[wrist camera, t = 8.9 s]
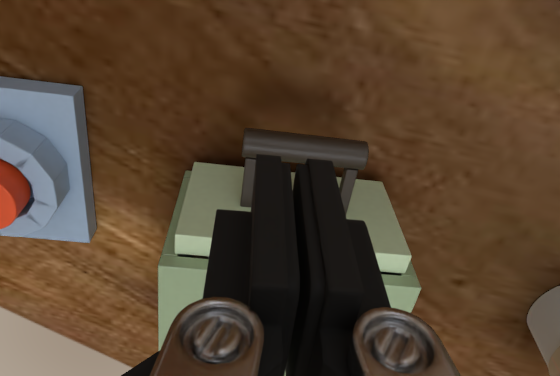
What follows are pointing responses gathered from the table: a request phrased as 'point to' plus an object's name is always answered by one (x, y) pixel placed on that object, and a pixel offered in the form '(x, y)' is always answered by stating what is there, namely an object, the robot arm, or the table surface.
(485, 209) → the table surface
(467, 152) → the table surface
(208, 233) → the shelf drawer
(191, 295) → the bedside cabinet
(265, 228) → the robot arm
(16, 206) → the red switch button
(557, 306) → the coffee cup
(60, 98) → the switch box
